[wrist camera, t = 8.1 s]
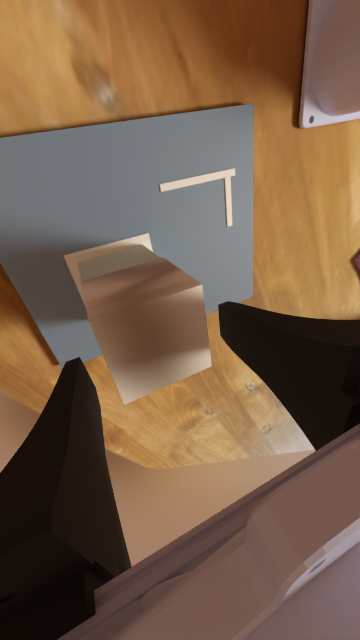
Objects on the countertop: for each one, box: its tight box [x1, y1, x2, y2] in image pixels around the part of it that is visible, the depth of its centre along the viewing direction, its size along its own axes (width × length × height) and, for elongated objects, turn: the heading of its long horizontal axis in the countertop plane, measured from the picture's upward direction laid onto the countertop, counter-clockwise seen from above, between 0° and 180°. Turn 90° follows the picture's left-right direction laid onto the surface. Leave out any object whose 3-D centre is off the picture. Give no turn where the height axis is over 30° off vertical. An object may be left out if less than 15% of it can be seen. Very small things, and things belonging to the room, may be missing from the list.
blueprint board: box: [0, 104, 253, 369], centre depth 20 cm, size 20×16×1 cm
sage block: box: [77, 245, 160, 281], centre depth 18 cm, size 5×5×5 cm
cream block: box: [81, 257, 212, 404], centre depth 13 cm, size 5×5×5 cm
